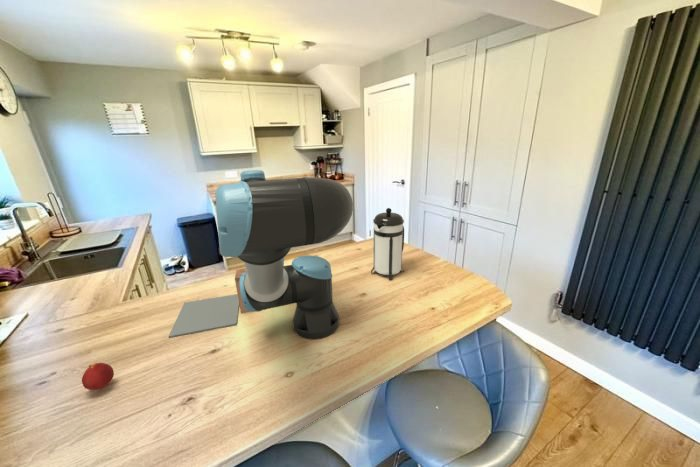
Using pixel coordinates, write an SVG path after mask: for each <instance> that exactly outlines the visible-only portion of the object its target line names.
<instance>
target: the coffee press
mask: <svg viewBox="0 0 700 467" xmlns="http://www.w3.org/2000/svg"><path fill="white" fill-rule="evenodd" d="M392 211H393V210H392V209H391V208H390V207H387V208H386V210H385V212H380V213H378V214H376V215H375V217H374V219H373V267H372V269H371V270H370V273H371V275H373V274H372V273H373V272H374V274H376V273H378V274H381V275H384V276H387V277H388V280H389V281H393V275H396V274H399V273H401V271H403V273H404V272H405V270H404V268H403V267H402V266H403V251H404V245H405V227H404V223H405V220H404V218H403V216H402V215H401V214H399V213H397V212H392Z"/></svg>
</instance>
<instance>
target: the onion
mask: <svg viewBox="0 0 700 467" xmlns="http://www.w3.org/2000/svg"><path fill="white" fill-rule="evenodd" d="M114 375H115V373H114V368H113V367H112V366H111V365H110V364H108V363H106V362H105V363H104V362H92V363H90V364H89V365H88V368H87V369H86V370H85V371H84V373H83V375H82V376H81V384H82V386H83V387H84V389H87V390H89V391H98V390H103V389H105V388H106V387H107V386H108V385H109V384H111V382H112V380H113V378H114Z"/></svg>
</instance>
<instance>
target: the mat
mask: <svg viewBox="0 0 700 467" xmlns="http://www.w3.org/2000/svg"><path fill="white" fill-rule="evenodd" d="M239 311H240V305H239V299H238V294H237V293H235V294H230V295H223V296H216V297H211V298H204V299H199V300H198V299H197V300H193V301H185V302H184V303H183V304H182V307H181V309H180V311H179V313H178V315H177V318H176V319H175V322H174V324H173V326H172V327H171V330H170V332H169V334H168V339H170V338H177V337H182V336H186V335H191V334H197V333H201V332H203V333H204V332H207V331H213V330H218V329H223V328H229V327H233V326H237V323H238V317H239Z"/></svg>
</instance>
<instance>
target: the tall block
mask: <svg viewBox="0 0 700 467" xmlns="http://www.w3.org/2000/svg"><path fill="white" fill-rule="evenodd" d="M245 272H247V270H246V267H245V268H240V269H236V270H235V276H234V282H235V287H236V294H238V299H239V311H240V314H246V313H250V312H249V311H247V310H246V309H245V307H244V305H243V301H242V298H241V293H240V285H239V280H240V276H241V274H243V273H245Z"/></svg>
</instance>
